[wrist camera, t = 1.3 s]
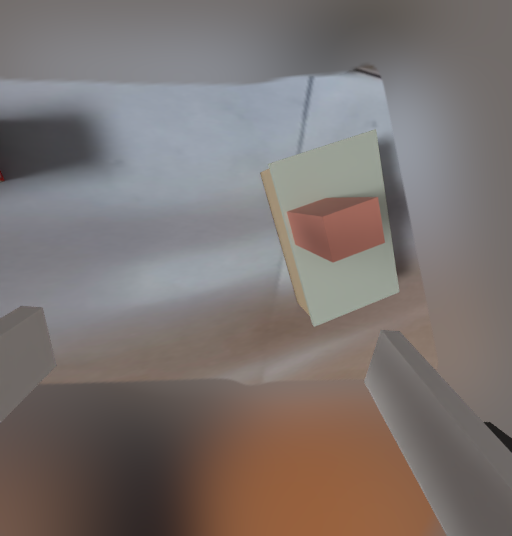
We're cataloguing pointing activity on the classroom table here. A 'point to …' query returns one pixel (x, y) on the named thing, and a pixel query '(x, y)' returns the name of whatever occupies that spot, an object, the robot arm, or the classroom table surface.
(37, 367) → the robot arm
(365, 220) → the lid
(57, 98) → the classroom table surface
